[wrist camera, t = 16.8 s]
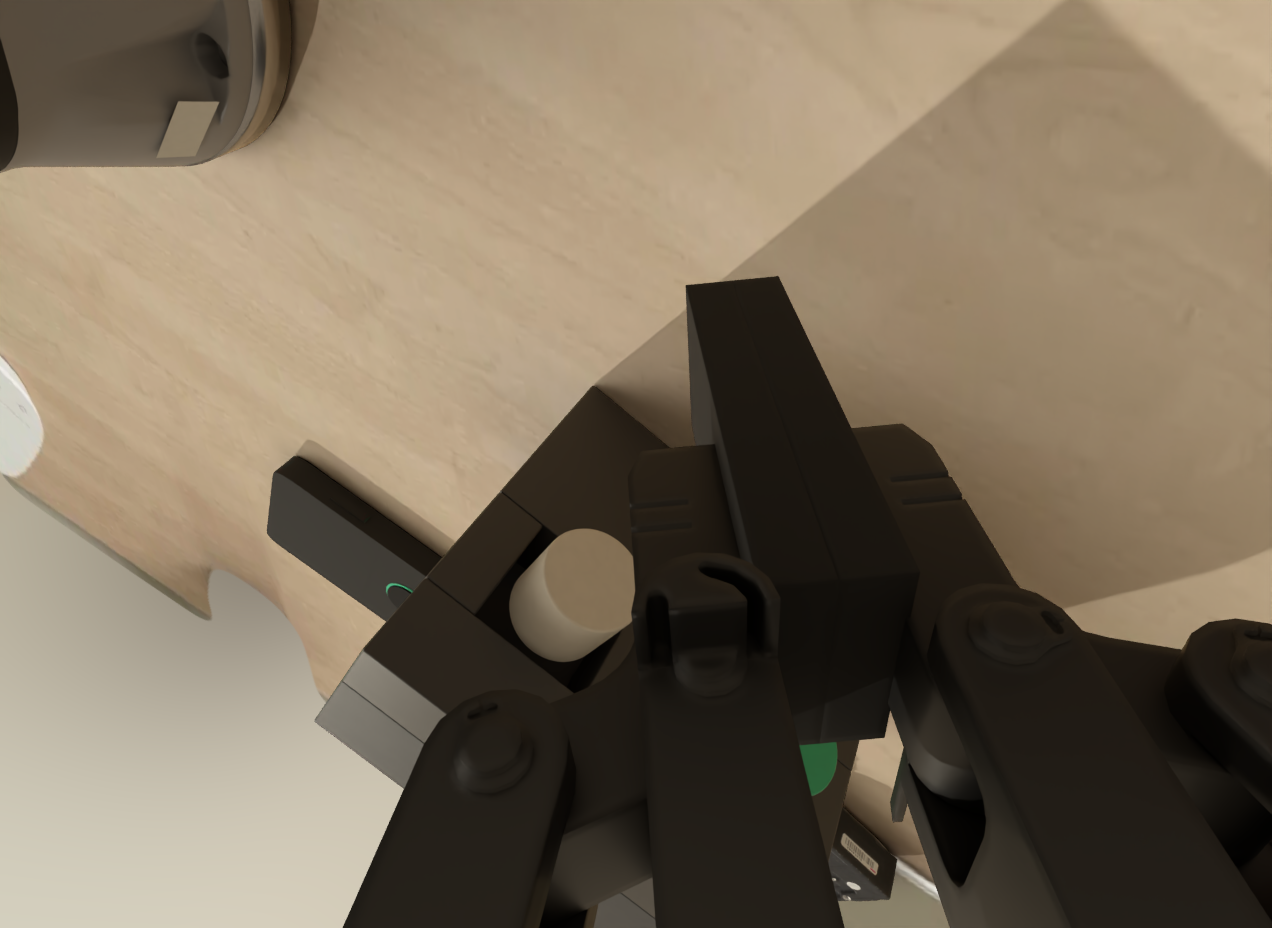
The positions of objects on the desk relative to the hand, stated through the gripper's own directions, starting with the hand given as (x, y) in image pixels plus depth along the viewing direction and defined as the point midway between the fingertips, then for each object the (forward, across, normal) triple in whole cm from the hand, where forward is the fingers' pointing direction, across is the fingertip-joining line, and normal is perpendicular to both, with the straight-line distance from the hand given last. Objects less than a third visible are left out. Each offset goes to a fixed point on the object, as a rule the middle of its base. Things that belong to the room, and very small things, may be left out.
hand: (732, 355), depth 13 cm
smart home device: (+22, -16, -27) cm, 38 cm away
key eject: (+7, -3, -11) cm, 13 cm away
